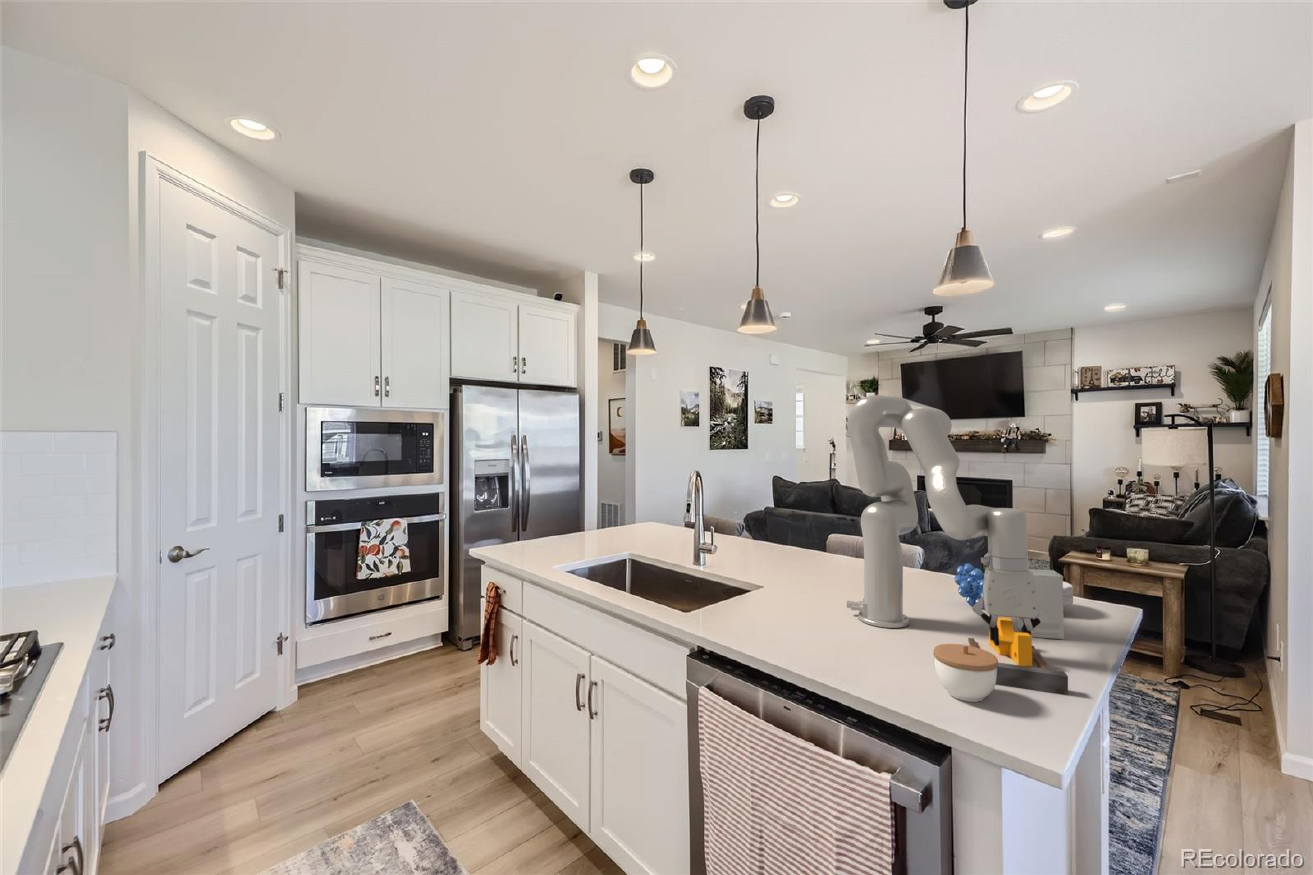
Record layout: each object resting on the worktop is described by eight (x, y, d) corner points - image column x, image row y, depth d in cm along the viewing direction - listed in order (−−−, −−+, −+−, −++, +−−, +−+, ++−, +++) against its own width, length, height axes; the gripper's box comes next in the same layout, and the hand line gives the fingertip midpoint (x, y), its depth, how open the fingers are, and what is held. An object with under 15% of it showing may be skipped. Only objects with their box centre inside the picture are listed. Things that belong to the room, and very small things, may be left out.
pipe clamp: (989, 644, 130) (988, 616, 130) (1010, 645, 129) (1009, 617, 129) (1009, 664, 118) (1008, 634, 118) (1032, 666, 117) (1031, 636, 117)
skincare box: (1055, 631, 138) (1055, 569, 138) (1065, 641, 132) (1065, 576, 132) (1016, 628, 141) (1016, 567, 141) (1024, 636, 135) (1024, 573, 135)
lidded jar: (1003, 713, 98) (1003, 660, 98) (935, 701, 102) (935, 651, 102) (992, 687, 108) (992, 639, 108) (931, 678, 112) (931, 632, 112)
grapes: (944, 601, 163) (944, 561, 163) (961, 599, 166) (961, 559, 166) (978, 613, 152) (978, 570, 152) (996, 611, 155) (996, 568, 155)
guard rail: (980, 681, 110) (980, 664, 110) (965, 640, 132) (965, 626, 132) (1067, 694, 105) (1067, 676, 105) (1036, 649, 127) (1036, 634, 127)
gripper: (967, 564, 123) (969, 646, 123) (1058, 570, 117) (1061, 656, 116) (962, 558, 130) (965, 635, 130) (1048, 562, 124) (1051, 644, 123)
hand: (1010, 644), depth 123 cm, fingers closed on pipe clamp, 4 cm apart
